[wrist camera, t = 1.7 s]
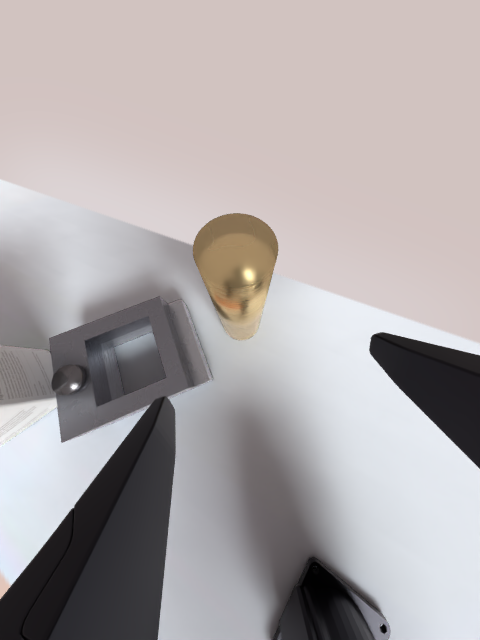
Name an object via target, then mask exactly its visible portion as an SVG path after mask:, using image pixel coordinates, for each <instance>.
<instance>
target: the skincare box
mask: <svg viewBox="0 0 480 640" xmlns="http://www.w3.org/2000/svg"><path fill="white" fill-rule="evenodd" d="M53 376H54V375H53V367H52V358H51V354H50V352H49V350H43V349H32V348H23V347H13V346H3V345H0V447H1V446H3V445H4V444H6V443H7V442H9V441H10V440H11V439H13V438H14V437H16V436H17V435H18V434H20V433H21V432H23V431H24V430H26V429H27V428H28V427H30V426H31V425H33V424H34V423H35V422H37V421H38V420H40V419H41V418H42V417H44V416H45V415H47V414H48V413H49V412H51V411H52V410H54V409H55V408H56V407H57V400H56V393H55V392H54V391H53V389H52V386H51V382H52V378H53Z"/></svg>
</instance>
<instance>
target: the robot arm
mask: <svg viewBox="0 0 480 640" xmlns="http://www.w3.org/2000/svg"><path fill="white" fill-rule="evenodd" d="M369 351H370V354H371V355H372V356H373V358H374V359H375V360H376V361H377V362H378V364H379V365H380V366H381V367H382V368H383V370H384V371H385V372H386V373H387V374H388V376H389V377H390V378H391V379H392V380H393V382H394V383H395V384H396V385H397V386H398V387H399V388H400V389H401V390H402V391H403V392H404V393H405V394H406V395H407V396H408V397H409V398H410V399H411V400H412V401H413V402H414V403H415V404H416V405H417V406H418V407H419V408H420V409H421V410H422V411H423V412H424V413H425V414H426V415H427V416H428V417H429V418H430V419H431V420H432V421H433V422H434V423H435V424H436V425H437V426H438V427H439V428H440V429H441V430H442V431H443V432H444V433H445V434H446V435H447V436H448V437H449V438H450V439H451V440H452V441H453V442H454V443H455V444H456V445H457V446H458V447H459V448H460V449H461V450H462V451H463V452H464V453H465V454H466V455H467V456H468V457H469V458H470V459H471V460H472V461H473V462H474V463H475V464H476V465H477V466H478V467H479V468H480V355H475V354H471V353H467V352H463V351H459V350H455V349H451V348H446V347H442V346H438V345H434V344H430V343H426V342H421V341H417V340H413V339H409V338H405V337H401V336H396V335H392V334H388V333H384V332H381V333H377V334H374V335H372V337H371V342H370V348H369ZM174 464H175V409H174V407H173V405H172V404H171V402H170V400H169V399H168V397H167V396H162V397H159V398H156V399H155V400H154V401H153V402H152V404H151V405H150V406H149V408H148V409H147V410H146V412H145V413H144V414H143V416H142V417H141V418H140V420H139V421H138V422H137V424H136V425H135V426H134V428H133V429H132V430H131V432H130V433H129V434H128V435H127V437H126V438H125V439H124V441H123V442H122V443H121V445H120V446H119V447H118V449H117V450H116V451H115V453H114V454H113V455H112V457H111V458H110V459H109V461H108V462H107V463H106V465H105V466H104V467H103V468H102V470H101V471H100V472H99V474H98V475H97V476H96V478H95V479H94V480H93V482H92V483H91V484H90V486H89V487H88V488H87V490H86V491H85V492H84V494H83V495H82V496H81V498H80V499H79V500H78V502H77V503H76V504H75V506H74V508H73V509H71V511H70V512H69V513H68V515H67V516H66V517H65V519H64V520H63V521H62V522H61V524H60V525H59V526H58V528H57V529H56V530H55V532H54V533H53V534H52V535H51V537H50V538H49V539H48V541H47V542H46V543H45V544H44V546H43V547H42V548H41V550H40V551H39V552H38V553H37V555H36V556H35V557H34V558H33V560H32V561H31V562H30V563H29V565H28V566H27V567H26V568H25V570H24V571H23V572H22V573H21V574H20V576H19V577H18V578H17V579H16V581H15V582H14V583H13V584H12V586H11V587H10V588H9V589H8V591H7V592H6V593H5V594H4V595H3V597H2V598H1V599H0V640H158V630H159V619H160V609H161V599H162V588H163V578H164V568H165V557H166V547H167V536H168V526H169V516H170V505H171V495H172V485H173V474H174ZM314 566H317V568H316V569H313V567H314ZM381 624H383V625H382V626H381V627H380V625H381ZM389 636H390V626H389V624H388V622H387V620H386V619H385V617H384V616H383V614H381V613H380V612H379V611H378V610H377V609H376V608H374V607H373V606H372V605H371V604H370V603H369V602H367V601H366V600H365V599H364V598H363V597H361V596H360V595H359V594H358V593H357V592H356V591H354V590H353V589H352V588H351V587H350V586H348V585H347V584H346V583H345V582H344V581H343V580H341V579H340V578H339V577H338V576H337V575H336V574H334V573H333V572H332V571H331V570H330V569H328V568H327V567H326V566H325V565H324V564H323V563H321V562H320V561H319V560H318V559H317V558H315V557H311V558H310V559H309V560H308V562H307V565H306V567H305V569H304V571H303V574H302V576H301V578H300V580H299V582H298V584H297V585H296V586H295V587H294V590H293V592H292V594H291V596H290V599H289V601H288V603H287V605H286V608H285V610H284V612H283V614H282V616H281V619H280V625H279V627H278V630H277V632H276V634H275V636H274V639H273V640H388V639H389Z"/></svg>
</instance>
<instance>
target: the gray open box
mask: <svg viewBox="0 0 480 640" xmlns="http://www.w3.org/2000/svg"><path fill="white" fill-rule="evenodd" d="M151 332H153V333H154V337H155V340H156V344H157V347H158V351H159V354H160V358H161V361H162V364H163V368H164V371H165V375H166V378H165V379H162V380H160V381H158V382H155V383H153V384H150V385H148V386H146V387H143V388H141V389H139V390H136V391H134V392H132V393H129V394H127V395H124V390H123V386H122V381H121V377H120V372H119V368H118V363H117V358H116V354H115V349H114V347H116V346H118V345H121V344H123V343H126V342H128V341H131V340H133V339H136V338H138V337H141V336H143V335H146V334H148V333H151ZM49 341H50V350H51V358H52V367H53V375H54V376H53V378H52V382H51V386H52V389H53V391H54V392H55V393H56V400H57V409H58V417H59V425H60V434H61V442H65V441H68V440H71V439H73V438H76V437H79V436H82V435H84V434H87V433H89V432H91V431H93V430H96V429H98V428H101V427H103V426H106V425H109V424H112V423H115V422H117V421H119V420H122V419H124V418H126V417H128V416H131V415H133V414H135V413H138V412H140V411H142V410H145V409H147V408H149V406H150V405H151V404H152V402H153V401H154V400H155V399H156V398H159V397H162V396H167V397H168V399H170V398H172V397H175V396H177V395H179V394H181V393H184V392H186V391H188V390H191V389H193V388H195V387H198V386H200V385H202V384H205V383H207V382H209V381H211V380H213V377H212V375H211V372H210V369H209V366H208V363H207V361H206V358H205V355H204V352H203V350H202V347H201V344H200V341H199V338H198V336H197V333H196V330H195V327H194V324H193V322H192V319H191V316H190V313H189V311H188V308H187V305H186V304H185V303H184V302H183V300H182V299H179V300H177V301H174V302H171V303H169V304H167V303H166V302H165V301H164V300H163V299H162V298H161V297H160V296H159V297H156V298H154V299H151V300H148V301H146V302H143V303H140V304H138V305H135V306H133V307H130V308H127V309H125V310H122V311H119V312H117V313H114V314H112V315H109V316H106V317H104V318H101V319H99V320H96V321H93V322H91V323H88V324H85V325H83V326H80V327H78V328H75V329H72V330H70V331H67V332H64V333H62V334H59V335H57V336H54V337H51V338H49Z"/></svg>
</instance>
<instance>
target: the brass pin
mask: <svg viewBox="0 0 480 640" xmlns="http://www.w3.org/2000/svg"><path fill="white" fill-rule="evenodd" d="M277 255H278V242H277V239H276V236H275V234H274V232H273V231H272V229H271V228H270V227H269V226H268V225H267V224H266V223H265V222H263V221H262V220H260V219H258V218H256V217H254V216H251V215H247V214H240V213H234V214H227V215H222V216H220V217H217V218H215V219H213V220H211V221H210V222H208V223H207V224H206V225H205V226H204V227H203V228H202V229H201V230H200V231H199V233H198V234H197V236H196V238H195V241H194V245H193V256H194V260H195V263H196V265H197V267H198V270H199V272H200V274H201V277H202V279H203V281H204V283H205V286H206V288H207V290H208V292H209V295H210V297H211V299H212V302H213V304H214V306H215V308H216V311H217V313H218V315H219V317H220V320H221V322H222V324H223V327H224V329H225V331H226V333H227V334H228V335H229V336H230V337H232V338H233V339H236V340H246V339H249V338H251V337H252V336H253V335H254V334H255V333H256V332H257V330H258V327H259V323H260V319H261V316H262V312H263V308H264V304H265V300H266V297H267V293H268V289H269V285H270V282H271V278H272V274H273V270H274V266H275V263H276V259H277Z"/></svg>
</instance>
